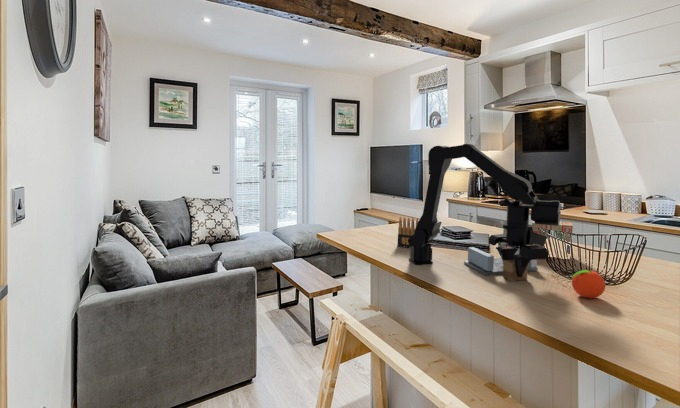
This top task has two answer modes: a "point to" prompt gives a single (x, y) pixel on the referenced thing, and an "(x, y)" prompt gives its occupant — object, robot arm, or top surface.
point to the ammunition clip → (405, 231)
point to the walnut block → (512, 271)
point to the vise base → (500, 266)
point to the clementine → (588, 283)
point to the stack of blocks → (562, 227)
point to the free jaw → (480, 258)
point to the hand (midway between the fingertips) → (514, 274)
